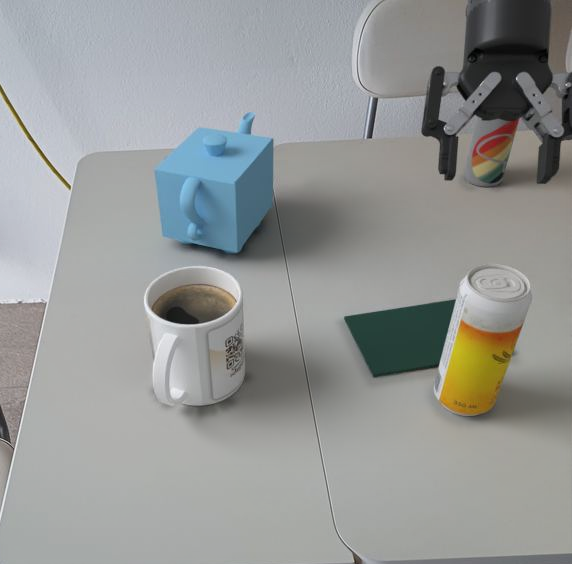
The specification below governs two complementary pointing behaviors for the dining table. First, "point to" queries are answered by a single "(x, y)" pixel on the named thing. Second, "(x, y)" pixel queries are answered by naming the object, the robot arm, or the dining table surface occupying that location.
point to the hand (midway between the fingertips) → (496, 180)
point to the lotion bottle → (489, 151)
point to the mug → (196, 335)
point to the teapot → (216, 187)
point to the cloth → (402, 336)
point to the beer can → (481, 338)
